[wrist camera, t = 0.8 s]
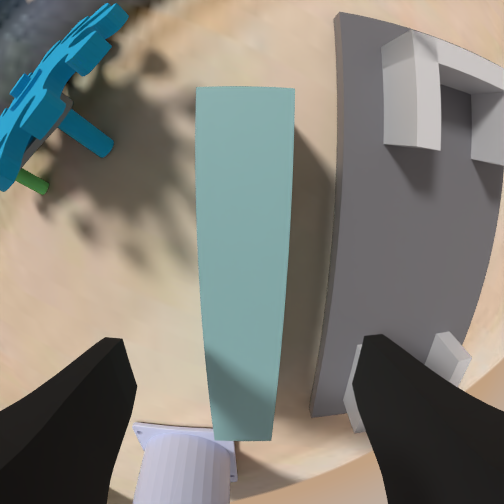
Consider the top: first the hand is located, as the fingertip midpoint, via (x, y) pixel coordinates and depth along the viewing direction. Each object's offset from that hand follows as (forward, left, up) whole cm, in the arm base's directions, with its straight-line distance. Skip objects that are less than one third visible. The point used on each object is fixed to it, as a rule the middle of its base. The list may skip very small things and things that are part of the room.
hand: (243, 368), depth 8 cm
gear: (+9, +9, -8) cm, 15 cm away
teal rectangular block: (0, 0, -8) cm, 8 cm away
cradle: (+1, -10, -7) cm, 12 cm away
